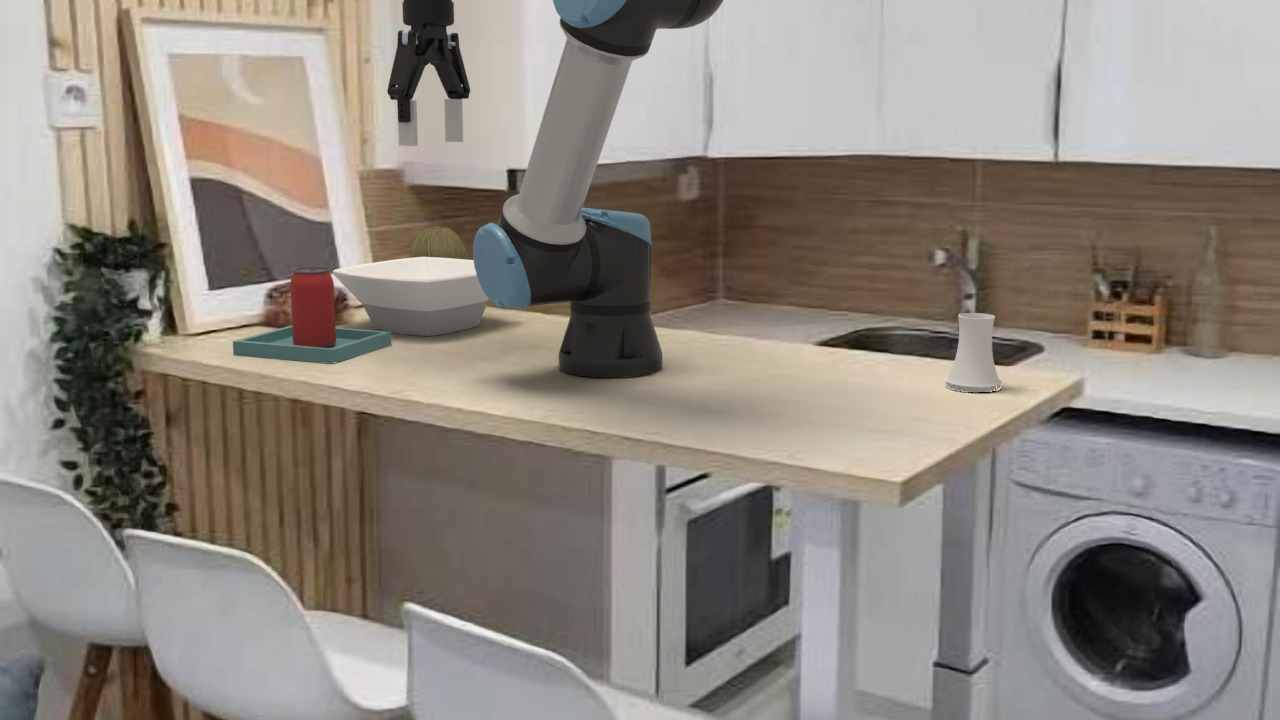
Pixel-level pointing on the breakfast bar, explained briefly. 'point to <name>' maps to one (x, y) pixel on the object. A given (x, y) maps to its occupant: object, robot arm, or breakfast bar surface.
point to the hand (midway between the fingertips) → (432, 143)
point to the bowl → (418, 294)
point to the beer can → (313, 307)
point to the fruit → (438, 244)
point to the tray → (283, 347)
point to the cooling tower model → (974, 356)
